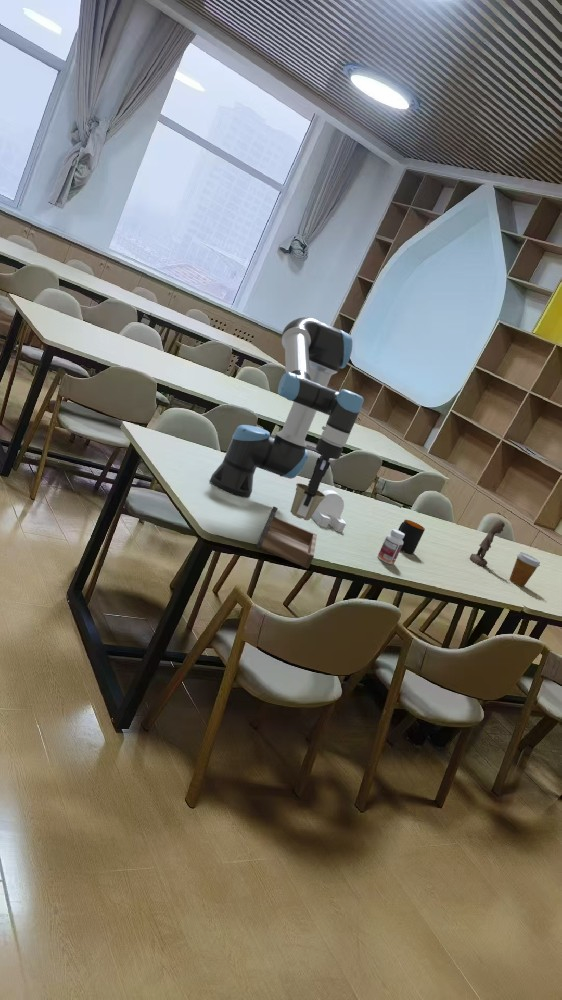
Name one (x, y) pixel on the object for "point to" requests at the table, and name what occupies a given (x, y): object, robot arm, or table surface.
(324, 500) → the bracket
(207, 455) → the table surface
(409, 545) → the mug
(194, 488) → the table surface
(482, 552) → the figurine
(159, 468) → the table surface
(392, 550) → the pill bottle
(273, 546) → the wooden tray
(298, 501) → the flower pot
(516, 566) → the disposable coffee cup
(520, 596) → the table surface
